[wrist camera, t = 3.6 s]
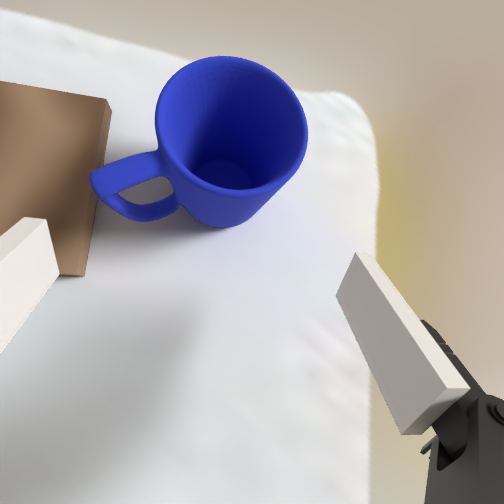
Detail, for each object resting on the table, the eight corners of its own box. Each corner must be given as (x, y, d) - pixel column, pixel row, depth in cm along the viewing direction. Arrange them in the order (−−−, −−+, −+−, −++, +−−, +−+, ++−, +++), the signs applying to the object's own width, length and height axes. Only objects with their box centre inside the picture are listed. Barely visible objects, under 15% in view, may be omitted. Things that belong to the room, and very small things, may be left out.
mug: (109, 185, 23) (46, 101, 13) (240, 136, 26) (266, 38, 16) (153, 276, 22) (119, 256, 13) (282, 215, 25) (334, 162, 16)
